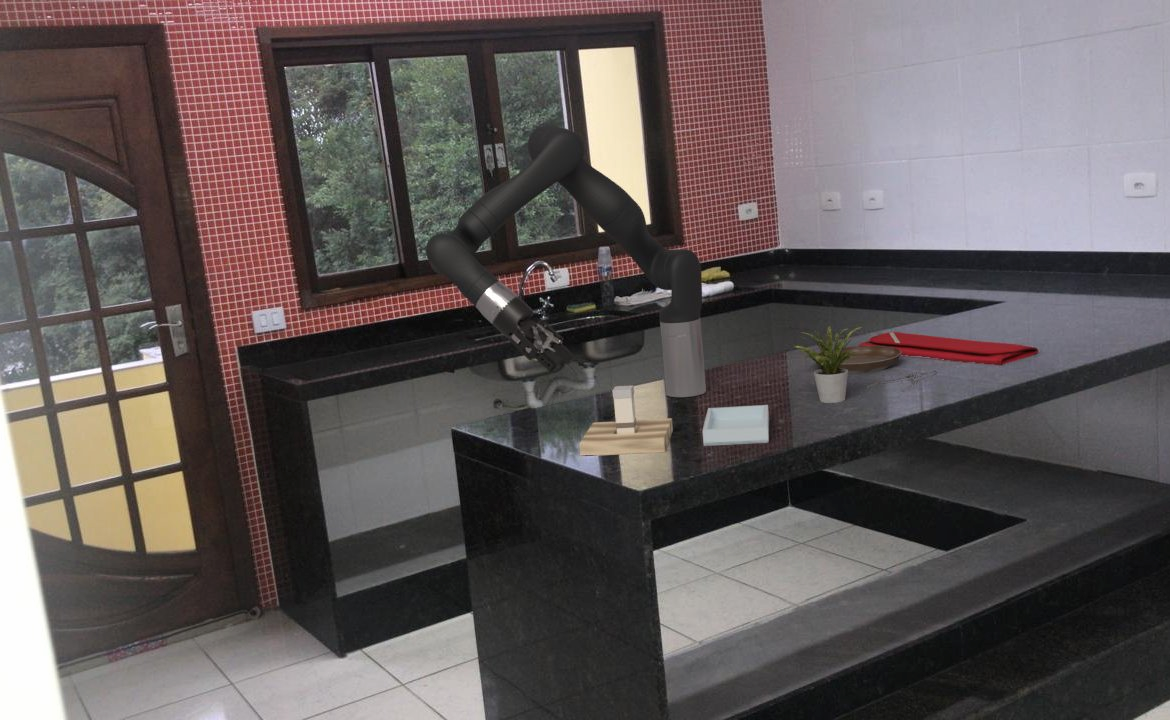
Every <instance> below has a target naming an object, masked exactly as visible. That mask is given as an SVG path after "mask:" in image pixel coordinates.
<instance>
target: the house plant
mask: <svg viewBox="0 0 1170 720" xmlns="http://www.w3.org/2000/svg"><path fill="white" fill-rule="evenodd" d="M862 328H863V326H861V327H860V326H859V327H856V328H854V329H852V330H850V331H849V332H848V333H847V334H846V335H845V337H844V338H843V339H841V340H839V338H840V336H841V334H842V333H843V332H844V331H846V330H849V328H848V327H847V328H845V329H843V330H841V331H840V333H839V332H837V333H835V336H834V341H833V337H832V336H833V333H832V332H833V331H832V329H831V326H830V325H827V332H826V340H825V338H824V337H823V336H822V335H821V334H820V333H819V331H817V330H815V329H814V328H812V330H813V331H814V332H815V333H816V334H817V335H818V336H819V337H820V339H819V338H818V337H817V336H816V335H814V334H812V333H808V332H804V331H803V332H802V331H801V333H802V334H806V335H808V336H809V337H810V338H811V339H812V340H814V342H815V343H816V345H817V346H818V348H819V350H818V352H819V353H822V354H823V355H822V354H821V355H822V356H824V357H821V356H820V355H819V354H818V353H817V352H816V351H814V349H813V350H812V349H810V348H808V347H805V346H801V345H793V347H794V348H797V349H799V350H800V351H801V352H803V353H806V354H807V355H805V356H802V357H800V358H799V359H798V361H800V360H802V359H805V358H806V359H807V358H811V359H812V360H813V361H814V362H815V363H816V365H817V366H819V367H820V368H821V369H817V370H814V372H813V377H814V379H815V384H816V389H817V394H818V397H819V402H821V403H825V404H833V403H834V404H837V403H842V402H845V400H846V393H847V385H848V384H847V383H848V376H849V375H848V374H849V373H848V370H847V369H842V368H840V366H841V364H842V363H843V362H844V361H846V360H848V359H850V358H854V357H852V356H850V357H848V356H846V355H848V354H850V353H852V352H845V353H843V354H842V352H843V350H844V348H845V347H847V345H848V344H849V343H850V341H851V340H852V339H853V338H854V337H855V335H853V334H854V332H855V331H857V330H860V329H862ZM852 335H853V336H852ZM808 336H806V337H807V338H808ZM851 336H852V337H851ZM797 337H799V338H800V336H799V335H798V336H797ZM850 337H851V338H850ZM801 338H802V339H804V337H802V336H801ZM807 338H805V340H807V341H808V342H810V343H811V341H810V340H808V339H807ZM848 339H849V340H848ZM838 340H839V341H838ZM847 341H848V342H847ZM846 342H847V343H846ZM833 343H834V344H833ZM833 347H834V348H833ZM833 349H834V352H833ZM842 349H843V350H842ZM838 350H839V351H838ZM853 353H855V352H853ZM841 354H842V355H841ZM855 354H856V353H855ZM856 355H857V354H856ZM825 360H826V361H825Z"/></svg>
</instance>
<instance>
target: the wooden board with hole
mask: <svg viewBox="0 0 1170 720" xmlns="http://www.w3.org/2000/svg"><path fill="white" fill-rule="evenodd" d="M636 426H637V433H626V434H617V428H616V420H615V421H602V422H601V421H599V422H592V424H591V425H590V427H589V429H588V430H587V431H586V432H585V434H584V436H583V437H582V439H581V440H580V442H579V443H578V444H579V454H580V456H581V455H597V456H611V455H612V456H613V455H614V456H615V455H636V454H637V455H638V454H654V453H655V454H657V453H658V454H659V453H666V450H667V448H668V444H669V442H670V440H671V436H672V433H673V431H674V428H673V418H671V417H670V418H657V419H654V418H652V419H636Z"/></svg>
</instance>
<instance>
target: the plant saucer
mask: <svg viewBox="0 0 1170 720" xmlns="http://www.w3.org/2000/svg"><path fill="white" fill-rule="evenodd" d="M844 347H845V346H844ZM844 347H843V348H844ZM842 350H843V349H842ZM838 351H839V350H838ZM833 352H834V348H833ZM845 352H852V353H850V354H848V355H846V356H848V357H850V356H852V357H854V358H850V359H848V360H846V361H844V362H843V363H842V364H841V366H840V368H842V369H847V370H848V374H861V373H860V372H864V373H871V372H870V371H873V372H877V371H876V370H879V371H882V370H881V369H883V370H886V369H888V367H889V368H890V366H891V367H892V366H893V365H894V364H895V363H896V362H897V361H898V360H899V358H900V357H901V356H900V355H901V351H900V350H899V349H896V348H892V347H885V346H859V345H857V346H856V345H855V346H846V347H845V348H844V350H843V352H842V354H843V353H845ZM853 352H855V353H856V354H857V355H856V354H855V353H853ZM818 354H819V355H820V356H821V357H824V356H822V355H823V354H822V353H820V352H819V353H818ZM821 354H822V355H821ZM842 354H841V355H842ZM825 361H826V360H825ZM885 368H886V369H885Z"/></svg>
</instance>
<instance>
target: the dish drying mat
mask: <svg viewBox="0 0 1170 720" xmlns="http://www.w3.org/2000/svg"><path fill="white" fill-rule="evenodd" d="M858 346H885V347H892V348H896V349H899V350H900V351H901V355H908V356H922V357H930V358H938V359H944V360H943V361H946V360H951V361H950V362H958V361H962V362H961V363H968V362H975V363H974V364H979V363H984V364H983V365H990V364H994V365H993V366H1004V365H1006V363H1007V364H1009V362H1010V363H1012V361H1013V362H1016V361H1018V360H1022V358H1023V359H1026V358H1029V357H1032V355H1033V356H1035V355H1038V353H1039V349H1038V348H1037V347H1033V346H1028V345H1022V344H1016V343H1009V342H1008V343H1006V342H992V341H991V342H990V341H981V340H980V341H978V340H969V339H962V338H952V337H943V336H942V337H941V336H935V335H934V336H933V335H924V334H915V333H906V332H900V331H899V332H898V331H890V332H885V333H882V334H881V333H880V334H877V335H875V336H871V337H870V338H869V340H868V341H864V342H861V343H860V344H858ZM1025 357H1026V358H1025ZM1003 364H1004V365H1003Z"/></svg>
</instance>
